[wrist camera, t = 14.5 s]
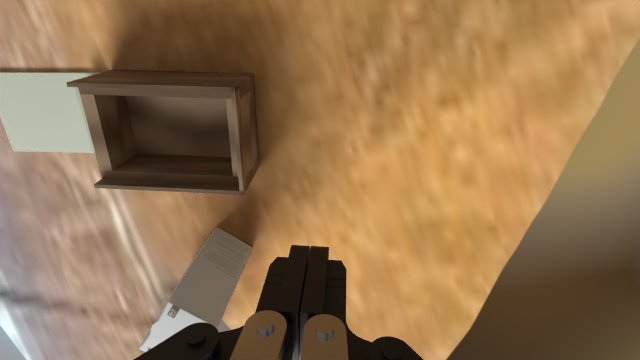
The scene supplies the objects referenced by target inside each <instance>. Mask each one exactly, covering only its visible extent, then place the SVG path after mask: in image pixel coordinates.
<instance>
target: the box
mask: <svg viewBox="0 0 640 360" xmlns="http://www.w3.org/2000/svg"><path fill="white" fill-rule="evenodd" d="M66 84H67V87H78V89H79V93H80V97H81V100H82V104H83V108H84V112H85V116H86V119H87V123H88V127H89V131H90V135H91V138H92V142H93V146H94V150H95V154H96V157H97V161H98V165H99V169H100V173H101V176H102V179H101V180H100V181H98V182H97V183H95V184H94V186H95V188H110V189H131V190H153V191H174V192H196V193H218V194H239V195H244V193H245V191H246V190H247V188H248V186H249V184H250V182H251V181H252V179H253V177H254V175H255V173H256V171H257V170H258V168H259V154H258V138H257V121H256V105H255V88H254V74H243V73H207V72H171V71H134V70H110V71H106V72H102V73H99V74H95V75H92V76H88V77H84V78H81V79H77V80H73V81H70V82H66Z"/></svg>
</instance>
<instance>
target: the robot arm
mask: <svg viewBox="0 0 640 360" xmlns="http://www.w3.org/2000/svg"><path fill="white" fill-rule="evenodd" d="M328 258H329V247H317V246H311V248H310V246H299V245H292V246H291V249H290V253H289V257H288V258H287V257H277V258H276V259H275V260H274V261H273V262H272V263H271V264H270V266H269V270H268V273H267V276H266V279H265V284H264V286H263V289H262V293H261V296H260V299H259V302H258V306H257V309H256V312H255V314H253V315H252V316H250V317H249V318H248V319H247V321H246V323H245V325H244V326H242V327H240V328H237V329H234V330H230V331H225V332H220V333H219V332H218V330H217V328H216V327H215V326H213V325H212V324H209V323H204V322H199V323H194V324H191V325H189V326H187V327H185V328H183V329H182V330H180V331H178V332H177V333H175V334H174V335H172V336H171V337H169V338H167V339H166V340H164V341H163V342H161V343H159V344H158V345H156V346H155V347H153V348H151V349H150V350H148V351H147V352H145V353H144V354H142V355H140V356H139V357H137V358H136V359H134V360H299V356H300V360H423V359H422V358H421V357H420V356H419V355H418V354H417V353H416V352H415V351H414V350H413V349H412V348H411V347H410V346H408V345H407V344H406V343H405V342H404V341H402V340H400V339H398V338H395V337H381V338H378V339H376V340H375V341H373V342H369V341H367V340H364V339H361V338H359V337H358V336H356V335H355V334H353V333H352V332H351V331H350V329H349V328H348V326H347V323H346V268H345V266H344V265H343V263H342V261H337V260H328Z"/></svg>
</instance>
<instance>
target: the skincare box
mask: <svg viewBox="0 0 640 360" xmlns="http://www.w3.org/2000/svg"><path fill="white" fill-rule="evenodd" d="M251 251H252V247H251V246H249V245H248V244H246V243H244V242H242V241H241V240H239V239H237V238H235V237H234V236H232V235H230V234H229V233H227V232H225V231H223V230H221V229H220V228H218V227H216V228H215V229H214V230H213V231H212V233H211V234H210V236H209V237H208V238H207V240H206V241H205V243H204V244H203V246H202V247H201V249H200V250H199V252H198V253H197V255H196V256H195V258H194V259H193V261H192V262H191V264H190V265H189V267H188V268H187V270H186V272H185V273H184V275H183V276H182V278H181V279H180V281H179V283H178V284H177V286H176V287H175V289H174V291H173V292H172V294H171V296H170V297H169V299H168V301H167V303H166V304H165V306H164V308H163V309H162V311H161V313H160V315H159V316H158V318H157V320H156V322H155V323H154V324H153V326H152V327H151V330H150V331H149V333H148V335H147V336H146V338H145V339H144V341H143V342H142V344H141V346H140V350H142V351H144V352H147V351H148V350H150V349H151V348H153V347H155V346H156V345H158V344H159V343H161V342H163V341H164V340H166V339H167V338H169V337H171V336H172V335H174V334H175V333H177V332H178V331H180V330H182V329H183V328H185V327H187V326H189V325H191V324H194V323H199V322H204V323H209V324H212V325H213V326H215V327H216V328H217V329H218V326H219V324H220V321H221V319H222V317H223V315H224V312H225V310H226V307H227V305H228V302H229V300H230V298H231V296H232V294H233V292H234V290H235V287H236V285H237V283H238V281H239V278H240V276H241V274H242V271H243V269H244V267H245V264H246V262H247V260H248V258H249V255H250V253H251Z"/></svg>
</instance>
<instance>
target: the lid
mask: <svg viewBox="0 0 640 360" xmlns="http://www.w3.org/2000/svg"><path fill="white" fill-rule="evenodd" d="M99 73H102V72H0V118H1V120H2V123H3V126H4V128H5V131H6V133H7V136H8V139H9V141H10V144H11V146H12V149H13V151H30V152H82V153H95V150H94V146H93V142H92V138H91V135H90V131H89V127H88V123H87V119H86V116H85V112H84V108H83V104H82V100H81V97H80V93H79V89H78V87H67V84H66V82H70V81H73V80H77V79H81V78H84V77H88V76H92V75H95V74H99Z"/></svg>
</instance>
